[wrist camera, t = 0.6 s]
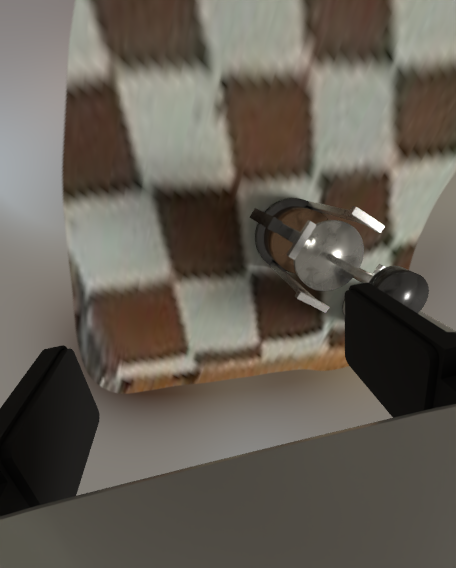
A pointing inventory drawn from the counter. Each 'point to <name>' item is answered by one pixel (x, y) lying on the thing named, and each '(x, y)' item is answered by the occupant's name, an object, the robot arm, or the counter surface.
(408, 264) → the counter surface
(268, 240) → the cafetera
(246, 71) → the counter surface
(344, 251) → the coffee press plunger
